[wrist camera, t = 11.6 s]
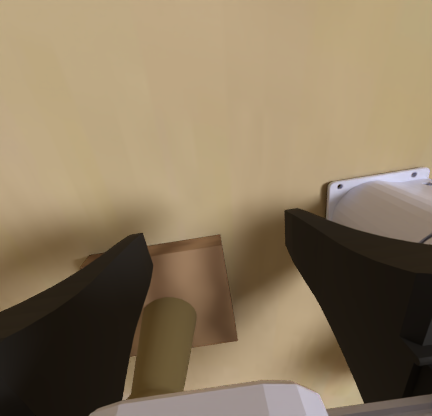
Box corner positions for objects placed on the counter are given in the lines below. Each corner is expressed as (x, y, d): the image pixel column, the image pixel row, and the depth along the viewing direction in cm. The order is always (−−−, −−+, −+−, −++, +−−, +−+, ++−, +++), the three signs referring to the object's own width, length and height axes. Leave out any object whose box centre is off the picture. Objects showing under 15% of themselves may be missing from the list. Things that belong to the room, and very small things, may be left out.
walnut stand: (220, 234, 23) (221, 245, 21) (235, 326, 29) (237, 340, 27) (89, 255, 23) (79, 267, 21) (130, 341, 29) (125, 357, 27)
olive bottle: (171, 342, 26) (150, 484, 16) (131, 317, 24) (80, 461, 14) (208, 317, 25) (210, 455, 15) (168, 288, 23) (140, 424, 13)
